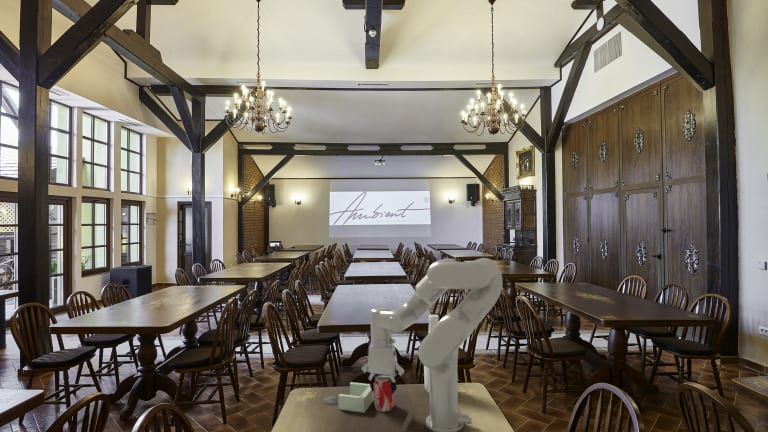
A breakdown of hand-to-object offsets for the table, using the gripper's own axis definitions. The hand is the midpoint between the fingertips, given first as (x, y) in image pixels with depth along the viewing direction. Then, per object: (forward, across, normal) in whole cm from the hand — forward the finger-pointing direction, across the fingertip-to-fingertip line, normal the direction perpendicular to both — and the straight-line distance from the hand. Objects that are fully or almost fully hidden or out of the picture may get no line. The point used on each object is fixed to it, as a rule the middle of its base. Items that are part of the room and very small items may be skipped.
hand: (383, 390), depth 149 cm
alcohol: (+8, -15, -22) cm, 28 cm away
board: (+7, +17, 0) cm, 18 cm away
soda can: (+7, 0, 0) cm, 7 cm away
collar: (+6, +10, 0) cm, 12 cm away
